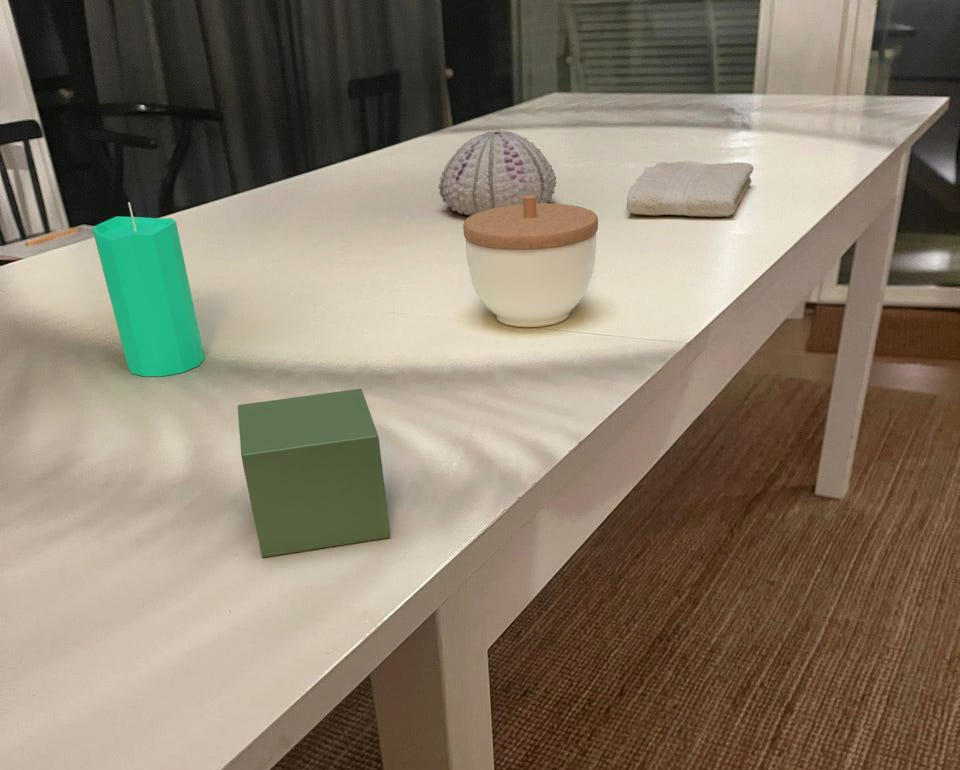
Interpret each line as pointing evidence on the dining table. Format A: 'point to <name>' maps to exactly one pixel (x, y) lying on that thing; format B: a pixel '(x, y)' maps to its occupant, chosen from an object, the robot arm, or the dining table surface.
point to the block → (313, 472)
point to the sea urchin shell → (495, 174)
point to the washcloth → (689, 189)
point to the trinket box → (531, 260)
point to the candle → (150, 294)
